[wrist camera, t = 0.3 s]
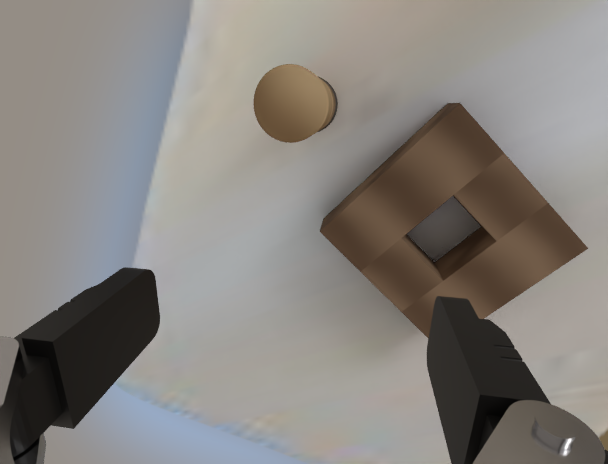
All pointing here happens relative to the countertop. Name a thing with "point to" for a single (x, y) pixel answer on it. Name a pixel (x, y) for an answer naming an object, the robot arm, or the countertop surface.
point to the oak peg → (294, 103)
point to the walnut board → (432, 194)
